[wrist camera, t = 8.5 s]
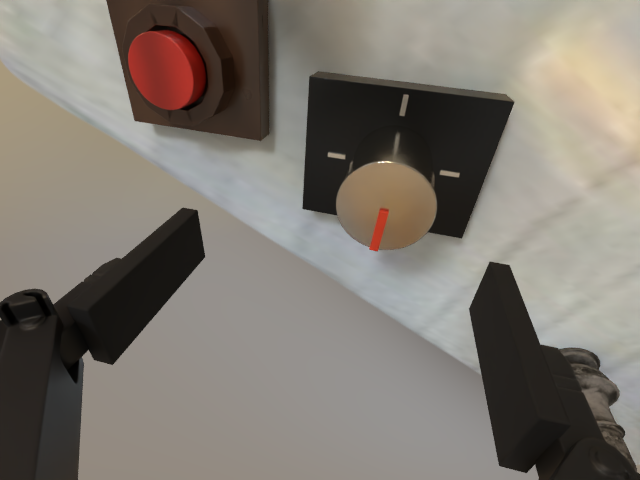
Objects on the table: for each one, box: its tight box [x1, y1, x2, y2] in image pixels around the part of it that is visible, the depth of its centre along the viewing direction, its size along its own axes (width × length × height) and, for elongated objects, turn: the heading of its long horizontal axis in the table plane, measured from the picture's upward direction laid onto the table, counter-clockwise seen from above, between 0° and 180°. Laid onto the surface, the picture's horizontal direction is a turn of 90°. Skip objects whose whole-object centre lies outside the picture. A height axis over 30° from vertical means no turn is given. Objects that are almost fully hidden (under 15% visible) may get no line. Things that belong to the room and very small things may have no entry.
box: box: [106, 0, 269, 141], centre depth 26 cm, size 12×10×4 cm
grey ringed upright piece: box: [559, 348, 637, 472], centre depth 32 cm, size 6×6×12 cm
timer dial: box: [336, 125, 437, 251], centre depth 23 cm, size 6×6×8 cm
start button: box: [128, 30, 206, 110], centre depth 24 cm, size 5×5×2 cm
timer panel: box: [303, 72, 514, 238], centre depth 27 cm, size 14×11×3 cm
